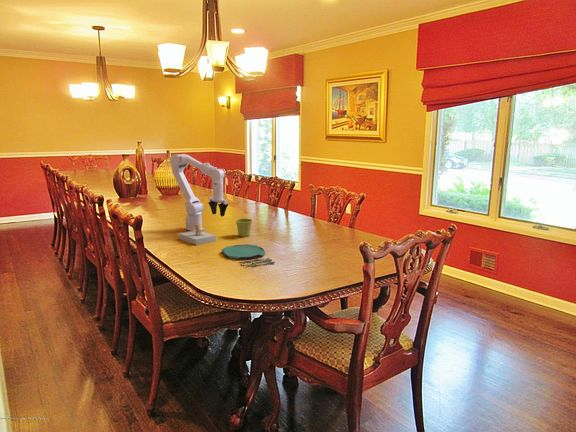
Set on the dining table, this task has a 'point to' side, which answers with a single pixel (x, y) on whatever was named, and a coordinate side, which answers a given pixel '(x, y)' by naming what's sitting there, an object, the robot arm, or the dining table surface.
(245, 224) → the plant pot
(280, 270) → the dining table surface
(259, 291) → the dining table surface
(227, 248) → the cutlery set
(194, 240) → the hole board
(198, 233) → the dowel
